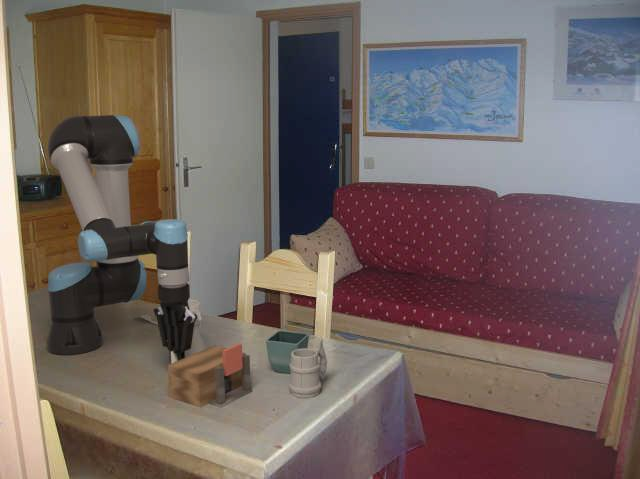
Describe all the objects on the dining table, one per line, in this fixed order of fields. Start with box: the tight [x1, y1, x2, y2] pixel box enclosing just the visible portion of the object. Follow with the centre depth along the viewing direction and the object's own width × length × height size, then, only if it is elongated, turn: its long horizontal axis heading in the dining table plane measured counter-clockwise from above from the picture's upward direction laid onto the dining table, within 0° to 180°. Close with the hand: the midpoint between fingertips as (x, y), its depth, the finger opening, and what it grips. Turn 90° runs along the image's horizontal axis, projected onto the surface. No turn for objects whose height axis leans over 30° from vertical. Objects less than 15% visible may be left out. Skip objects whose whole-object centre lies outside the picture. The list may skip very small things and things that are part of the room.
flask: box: [185, 320, 208, 358], centre depth 189 cm, size 7×7×10 cm
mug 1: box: [188, 299, 203, 332], centre depth 205 cm, size 8×12×10 cm, turn 41°
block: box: [167, 345, 253, 408], centre depth 165 cm, size 14×16×9 cm
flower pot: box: [265, 330, 310, 375], centre depth 179 cm, size 9×9×9 cm
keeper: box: [222, 342, 243, 376], centre depth 161 cm, size 1×6×6 cm, turn 146°
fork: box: [133, 314, 158, 326], centre depth 219 cm, size 3×21×3 cm, turn 50°
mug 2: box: [288, 336, 328, 399], centre depth 166 cm, size 8×12×12 cm, turn 141°
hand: (178, 375), depth 173 cm, fingers closed
